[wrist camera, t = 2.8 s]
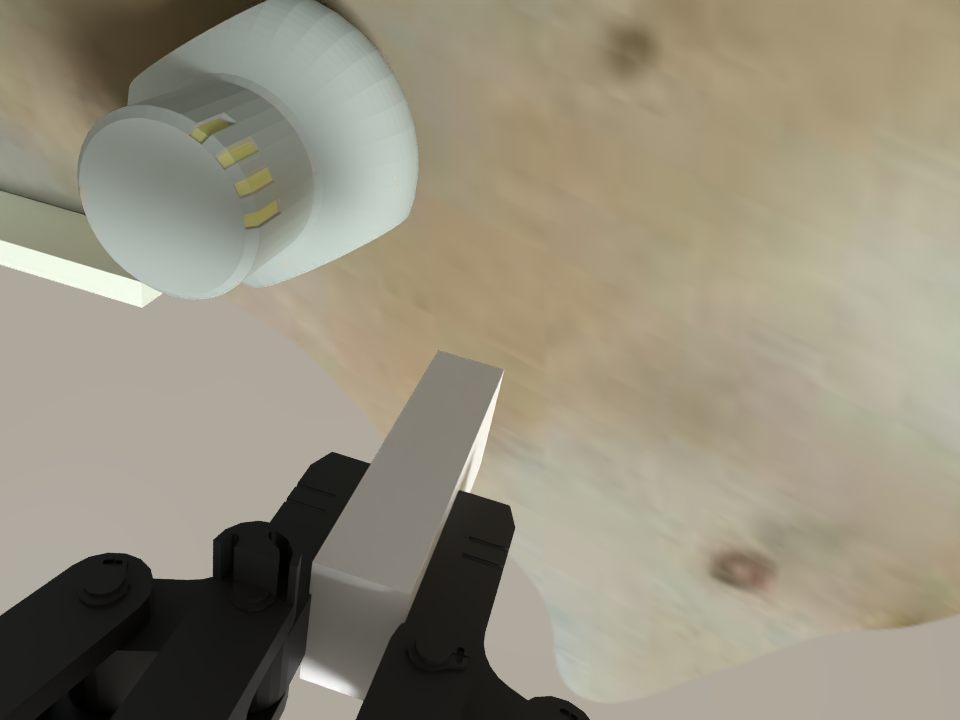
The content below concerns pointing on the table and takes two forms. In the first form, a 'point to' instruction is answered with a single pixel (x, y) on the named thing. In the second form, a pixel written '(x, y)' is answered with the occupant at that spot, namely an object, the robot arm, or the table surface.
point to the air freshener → (251, 154)
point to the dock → (63, 250)
